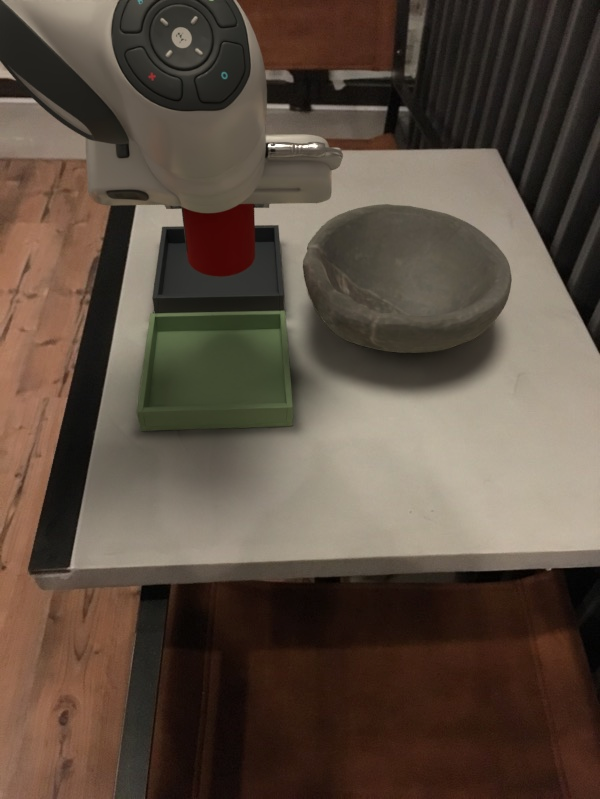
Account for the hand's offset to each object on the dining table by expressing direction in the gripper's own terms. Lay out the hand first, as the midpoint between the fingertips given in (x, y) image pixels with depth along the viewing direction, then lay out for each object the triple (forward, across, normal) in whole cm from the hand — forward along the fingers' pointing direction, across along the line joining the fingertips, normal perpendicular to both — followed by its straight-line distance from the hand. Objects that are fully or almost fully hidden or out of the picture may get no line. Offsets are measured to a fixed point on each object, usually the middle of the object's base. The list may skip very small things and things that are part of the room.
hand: (217, 200), depth 64 cm
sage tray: (+10, +1, +16) cm, 19 cm away
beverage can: (+4, 0, +5) cm, 7 cm away
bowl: (+16, -20, +11) cm, 28 cm away
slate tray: (+22, +1, +4) cm, 23 cm away
